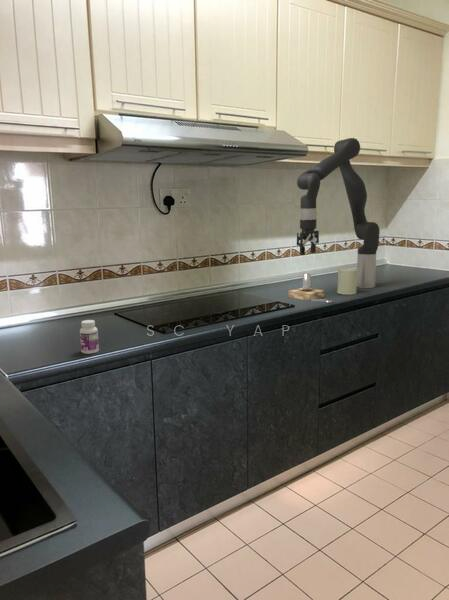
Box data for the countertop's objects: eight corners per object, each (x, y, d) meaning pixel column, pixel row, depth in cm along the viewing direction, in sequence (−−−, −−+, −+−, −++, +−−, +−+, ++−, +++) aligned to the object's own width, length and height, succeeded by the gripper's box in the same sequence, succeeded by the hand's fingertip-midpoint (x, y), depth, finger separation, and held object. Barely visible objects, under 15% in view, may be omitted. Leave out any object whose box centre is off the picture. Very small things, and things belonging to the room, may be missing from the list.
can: (357, 294, 231) (358, 269, 228) (337, 294, 232) (338, 269, 230) (356, 291, 239) (356, 267, 237) (336, 290, 241) (337, 267, 239)
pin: (305, 295, 230) (305, 272, 228) (311, 296, 228) (312, 273, 225) (301, 297, 228) (301, 273, 225) (307, 297, 225) (307, 274, 223)
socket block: (303, 293, 236) (303, 287, 235) (324, 296, 228) (324, 290, 227) (288, 297, 227) (288, 290, 227) (309, 300, 219) (309, 294, 219)
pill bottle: (77, 351, 150) (75, 321, 148) (92, 347, 154) (90, 318, 152) (87, 355, 146) (85, 324, 144) (102, 351, 150) (100, 320, 148)
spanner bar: (309, 300, 219) (309, 298, 219) (313, 299, 221) (313, 297, 221) (329, 303, 212) (329, 301, 212) (333, 302, 214) (333, 300, 214)
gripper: (310, 217, 228) (309, 252, 231) (292, 219, 218) (292, 255, 222) (323, 217, 223) (323, 253, 226) (305, 219, 213) (305, 256, 216)
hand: (307, 254), depth 224 cm, fingers open, 8 cm apart
